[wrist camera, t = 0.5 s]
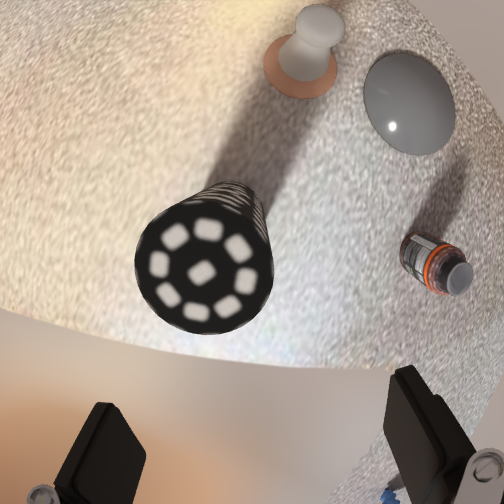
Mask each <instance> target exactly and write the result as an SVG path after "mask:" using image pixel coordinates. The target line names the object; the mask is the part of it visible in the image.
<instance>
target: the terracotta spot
mask: <svg viewBox="0 0 504 504" xmlns="http://www.w3.org/2000/svg"><path fill="white" fill-rule="evenodd" d="M291 36H292V35H287V36H284V37H281V38H279V39H277V40H276V41H274V42H273V43H272V44H271V45H270V46H269V48H268V49H267V51H266V53H265V56H264V71H265V74H266V76H267V78H268V80H269V82H270V83H271V84H272V85H273V86H274V87H275V88H276V89H277V90H279V91H280V92H282V93H283V94H285V95H288V96H290V97H294V98H299V99H309V98H314V97H317V96H319V95H322V94H323V93H325V92H326V91H327V90H328V89H329V88H330V87H331V86H332V84H333V83H334V81H335V78H336V74H337V65H336V61H335V58H334V56H333V54H332V53H331V51H330V58H329V65H328V69H327V70H326V72H325V73H324V74H323V76H321V77H319V78H317V79H315V80H313V81H298V80H296V79H293V78H291V77H290V76H288V75H287V74H286V73H285V72H284V71H283V70H282V68H281V65H280V63H279V60H278V58H279V50H280V48H281V47H282V46H283V45H284V43H285V42H286V41H287V40H288V39H289V38H290V37H291Z"/></svg>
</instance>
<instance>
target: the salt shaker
mask: <svg viewBox="0 0 504 504" xmlns="http://www.w3.org/2000/svg"><path fill="white" fill-rule="evenodd" d="M295 29H296V32H295V33H294V34H293V35H292V36H291V37H290V38H289V39H288V40H287V41H286V42H285V43H284V45H283V46H282V47H281V48H280V50H279V58H278V60H279V63H280V65H281V68H282V70H283V71H284V72H285V73H286V74H287V75H288V76H290V77H291V78H293V79H296V80H298V81H313V80H315V79H317V78H319V77H321V76H323V74H324V73H325V72H326V70H327V69H328V65H329V58H330V51H331V47H332V46H334V45H337V44H338V43H339V42H340V40H341V39H342V37H343V36H344V34H345V22H344V20H343V18H342V16H341V15H340V14H339V13H338V12H337V11H336V10H334V9H333V8H331V7H328V6H325V5H318V4H312V5H310V6H307V7H305V8H303V10H302V11H301V12H300V13H299V14H298V15H297V17H296V26H295Z"/></svg>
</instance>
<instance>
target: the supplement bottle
mask: <svg viewBox="0 0 504 504" xmlns="http://www.w3.org/2000/svg"><path fill="white" fill-rule="evenodd" d="M400 262H401V264H402V266H403V268H404V269H405V270H406V271H407V272H408V273H410V274H411V275H412V276H414V277H415V278H416V279H417V280H419V281H420V282H421V283H422V284H424V285H425V286H426V287H428V288H429V289H430V290H431V291H433V292H434V293H436V294H439V295H448V294H451V295H452V296H461V295H462V294H464V293H465V292H466V291H467V290H468V289H469V287H470V285H471V283H472V280H473V269H472V267H471V265H470V264H469V263H467V261H466V258H465V255H464V254H463V252H462V251H461V250H460V249H458V248H457V247H455V246H453V245H451V244H449V243H447V242H444V241H442V240H440V239H438V238H436V237H434V236H431V235H430V234H427V233H424V232H415V233H413V234H411V235H409V236H408V237H407V238H406V239H405V240H404V242H403V244H402V246H401V249H400Z"/></svg>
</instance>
